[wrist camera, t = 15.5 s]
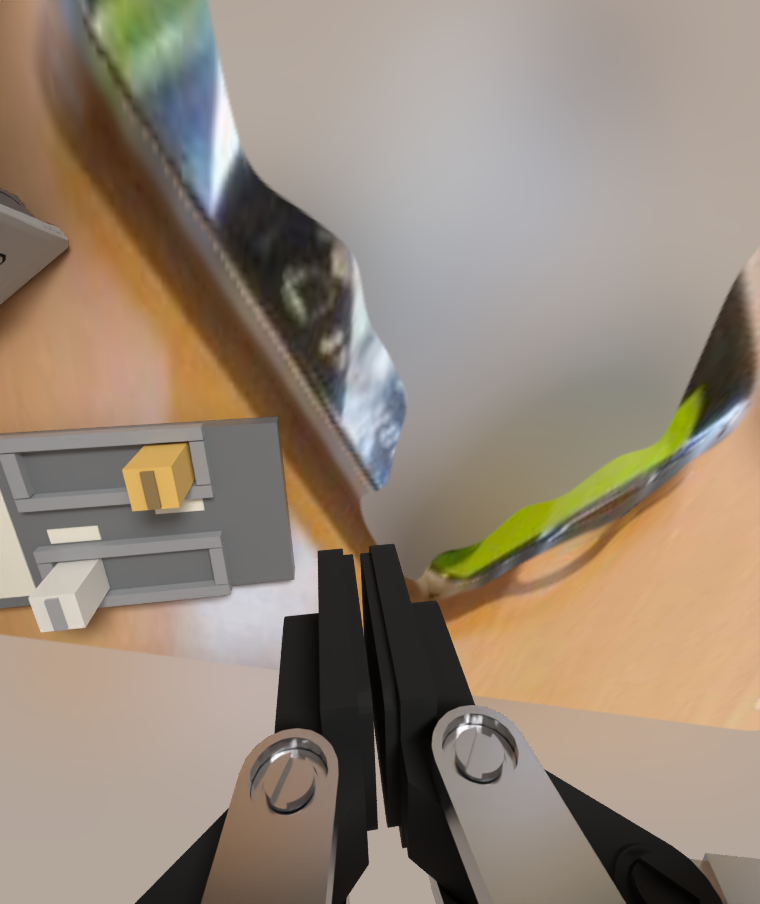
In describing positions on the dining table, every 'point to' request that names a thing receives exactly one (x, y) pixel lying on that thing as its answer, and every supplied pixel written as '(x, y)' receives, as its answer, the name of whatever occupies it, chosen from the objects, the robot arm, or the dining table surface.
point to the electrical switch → (24, 244)
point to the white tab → (69, 595)
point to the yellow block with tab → (159, 476)
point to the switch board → (145, 511)
